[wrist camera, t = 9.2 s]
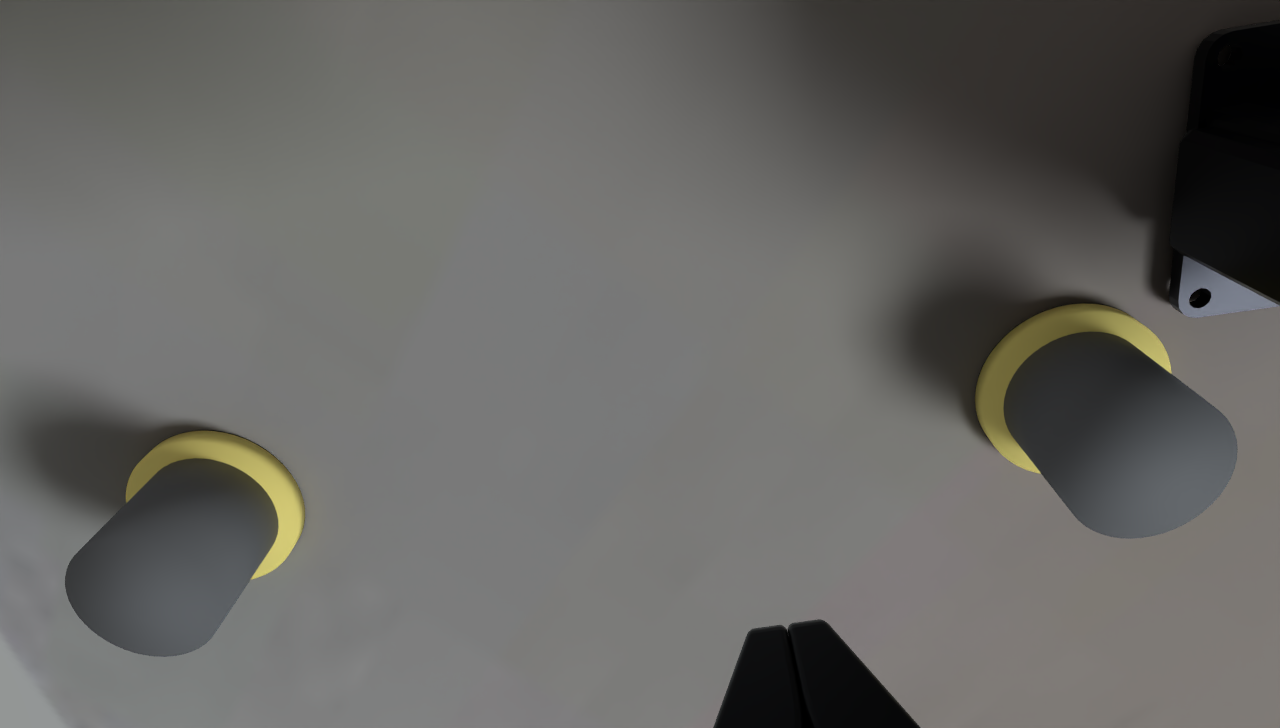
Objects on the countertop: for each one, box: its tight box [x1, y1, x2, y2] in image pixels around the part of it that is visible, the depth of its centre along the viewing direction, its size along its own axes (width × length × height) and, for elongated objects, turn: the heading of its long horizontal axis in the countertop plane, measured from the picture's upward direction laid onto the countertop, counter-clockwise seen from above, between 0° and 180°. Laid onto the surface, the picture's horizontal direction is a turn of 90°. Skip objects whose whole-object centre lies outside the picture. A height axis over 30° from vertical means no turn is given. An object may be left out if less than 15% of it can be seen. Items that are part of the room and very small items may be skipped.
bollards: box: [65, 303, 1237, 657], centre depth 21 cm, size 28×5×4 cm, turn 99°
